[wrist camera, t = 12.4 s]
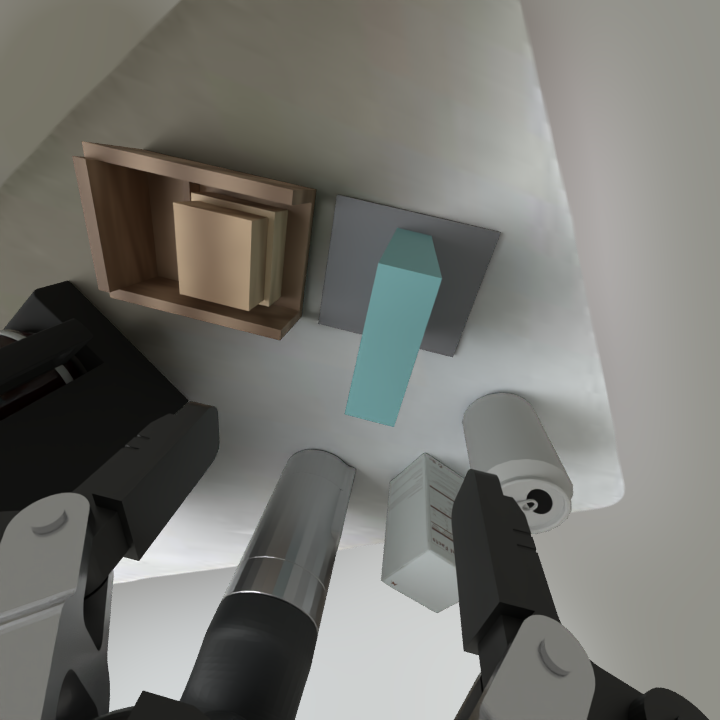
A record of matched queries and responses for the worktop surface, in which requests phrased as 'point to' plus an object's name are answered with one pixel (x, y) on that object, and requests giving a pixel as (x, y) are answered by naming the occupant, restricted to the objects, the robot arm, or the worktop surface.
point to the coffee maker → (69, 395)
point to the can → (518, 458)
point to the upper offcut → (220, 254)
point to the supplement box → (422, 534)
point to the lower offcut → (274, 236)
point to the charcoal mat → (365, 248)
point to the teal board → (394, 326)
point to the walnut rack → (157, 232)
